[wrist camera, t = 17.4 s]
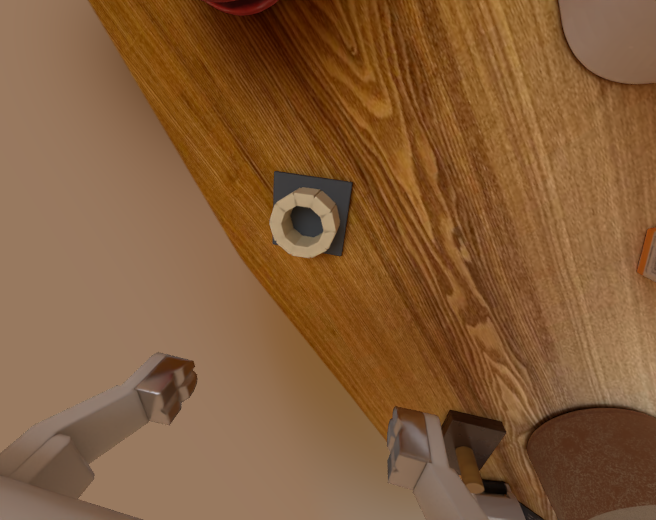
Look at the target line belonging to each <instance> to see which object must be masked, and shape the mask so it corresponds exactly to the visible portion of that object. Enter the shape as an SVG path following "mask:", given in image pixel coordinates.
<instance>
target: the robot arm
mask: <svg viewBox="0 0 656 520" xmlns="http://www.w3.org/2000/svg"><path fill="white" fill-rule="evenodd" d="M558 2H559V7H560V14H561V21H562V26H563V30H564V34H565V37H566V39H567V42H568V44H569V46H570V48H571V50H572V52H573V53H574V55H575V56H576V57H577V59H578V60H579V61H580V62H581V63H582V64H583V65H584V66H585V67H586V68H587V69H589V70H590V71H591V72H593V73H594V74H596V75H598V76H600V77H602V78H605V79H607V80H611V81H614V82H619V83H625V84H648V83H656V0H558ZM194 367H195V365H194V361H192V360H188V359H183V358H179V357H175V356H171V355H168V354H163V353H156V354H154V355H152V356H151V357H150V358H149V359H148V360H147V361H146V362H145V363H144V364H143V365H142V366H141V367H140V368H139V369H138V370H137V371H136V372H135V373H134V374H133V375H132V376H131V377H130V378H129V379H127V381H126V382H124V384H122V385H121V386H118V385H117V386H115V387H113V388H111V389H109V390H106V391H104V392H102V393H100V394H98V395H96V396H94V397H92V398H90V399H88V400H85V401H83V402H81V403H79V404H77V405H75V406H73V407H71V408H69V409H66V410H64V411H62V412H60V413H58V414H56V415H54V416H52V417H50V418H48V419H45V420H43V421H41V422H39V423H37V424H35V425H33V426H32V427H31V428H30V429H29V430H27V431H26V432H25V433H24V434H23V435H21V436H20V437H19V438H18V439H17V440H16V441H14V442H13V443H12V444H11V445H10V446H8V447H7V448H6V449H5V450H4V451H2V452H1V453H0V520H142V519H139V518H136V517H133V516H130V515H126V514H123V513H120V512H117V511H114V510H111V509H108V508H104V507H101V506H98V505H95V504H91V503H88V502H85V501H82V500H79V499H78V498H79V497H80V496H81V494H82V493H83V492H84V491H85V489H86V488H87V487H88V486H89V485H90V483H91V482H92V481H93V480H94V473H93V471H92V469H91V468H90V466H89V465H88V464H90V463H91V462H92V461H94V460H95V459H97V458H98V457H99V456H101V455H102V454H104V453H105V452H107V451H108V450H110V449H111V448H112V447H114V446H115V445H117V444H118V443H120V442H121V441H122V440H124V439H125V438H127V437H128V436H130V435H131V434H133V433H134V432H135V431H137V430H138V429H140V428H141V427H142V426H144V425H145V424H147V423H148V422H149V421H152V422H157V423H161V424H165V425H170V424H171V422H172V421H173V419H174V418H175V417H176V415H177V414H178V413H179V411H180V410H181V403H182V402H183V401H185V400H187V399H188V398H189V397H190V396H191V394H192V393H193V392H194V389H195V387H196V384H197V374H196V373H195V372H194V371H193V368H194ZM387 447H388V449H389V451H390V455H389V458H388V483H390V484H394V485H397V486H400V487H404V488H407V489H411V490H413V493H414V495H415V497H416V499H417V502H418V503H419V506H420V508H421V510H422V512H423V514H424V516H425V518H426V520H489V519H488V517H487V516H486V514H485V513H484V511H483V510H482V509H481V507H480V506H479V504H478V503H477V501H476V500H475V498H474V497H473V496H472V494H471V493H470V491H469V490H468V488H467V487H466V486H465V484H464V483H463V481H462V480H461V478H460V477H459V475H458V474H457V473H456V471H455V470H454V469H452V468H449V463H448V458H447V453H446V449H445V444H444V439H443V434H442V430H441V425H440V420H439V418H438V416H436V415H433V414H428V413H423V412H421V411H416V410H411V409H406V408H401V407H397V406H395V407H394V409H393V418H392V419H390V422H389V425H388V432H387Z"/></svg>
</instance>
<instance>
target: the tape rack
mask: <svg viewBox="0 0 656 520" xmlns="http://www.w3.org/2000/svg"><path fill="white" fill-rule="evenodd" d="M441 430H442V434H443V439H444V444H445V449H446V453H447V458H448V463H449V468H452V469H454V470H455V471H456V473H457V474H458V475H461V477H462V481H463V483H464V484H465V486H466V487H467V488H468V490H469V491H470V493H474V494H478V493H482V492H483V491H484V486H483V482H482V479H481V476H480V472H479V471H480V469H481V468H482V466H483V465H484V464H485V462H486V461H487V459H488V458H489V457H490V455H491V454H492V452H493V451H494V449H495V448H496V447H497V445H498V444H499V442H500V441H501V440H502V438H503V437H504V435H505V434H506V431H505V429H504V426H503V424H502V422H499V421H495V420H491V419H486V418H482V417H478V416H473V415H469V414H465V413H460V412H456V411H452V410H450V411H449V413H448V415H447V417H446V419H445V421H444V423H443V425H442V427H441Z"/></svg>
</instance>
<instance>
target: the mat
mask: <svg viewBox="0 0 656 520" xmlns="http://www.w3.org/2000/svg"><path fill="white" fill-rule="evenodd" d="M352 184H353V182H347V181H341V180H334V179H327V178H320V177H313V176H306V175H299V174H293V173H286V172H279V171H275V172H274V204H273V208H274V206H275V204H276V202H278V201H279V200H281V199H282V198H284V197H286V196H287V195H289V194H291V193H292V192H294V191H295V190H297V189H299V188H302V187H305V188H313V189H320V192H321V191H323V192H324V193H325V194H326V195H327V196H329V197H330V198H331V199H332V200H333V201H334V202H335V203H336V204H335V205H337V209H338V214H339V219H340V225H339V228H338V230H337V232H336V234H335V237H334V239H333V241H332V243H331V245H330V247H329V249H327V251H325V252H323V253H326V254H332V255H337V256H341V255H342V250H343V243H344V237H345V230H346V223H347V217H348V210H349V203H350V197H351V190H352ZM290 217H291V221H292V224H293V228H294V229H296V230H297V231H298V232H299V233H300V234H301V235H302V236H308V237H315V236H317V235H319V234H321V233H323V226H322V222H321V217H320V216H318V215H317V214H316V213H315V212H314V211H313V210H312V209H311V208H308V207H301V206H295V207H294V208H293V210H292V212H291V215H290ZM273 244H275V245H278V244H277V243H276V241H275V240H274V237H273Z"/></svg>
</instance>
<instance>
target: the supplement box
mask: <svg viewBox="0 0 656 520" xmlns="http://www.w3.org/2000/svg"><path fill="white" fill-rule="evenodd" d="M637 273H639V274H641V275H643V276H645V277H647V278H649V279H651V280H652V281H654V282H656V228H650V229H648V230H647V232H646V238H645V242H644V245H643V248H642V254H641V257H640V260H639V264H638V268H637Z"/></svg>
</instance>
